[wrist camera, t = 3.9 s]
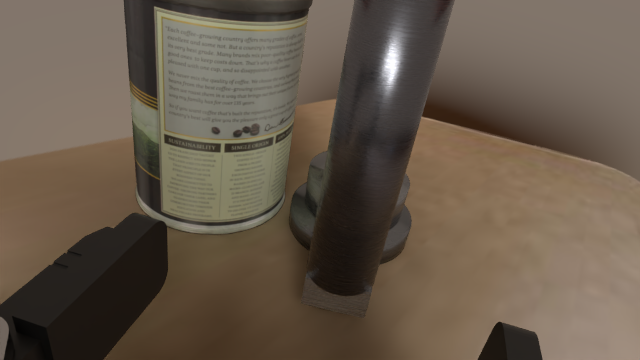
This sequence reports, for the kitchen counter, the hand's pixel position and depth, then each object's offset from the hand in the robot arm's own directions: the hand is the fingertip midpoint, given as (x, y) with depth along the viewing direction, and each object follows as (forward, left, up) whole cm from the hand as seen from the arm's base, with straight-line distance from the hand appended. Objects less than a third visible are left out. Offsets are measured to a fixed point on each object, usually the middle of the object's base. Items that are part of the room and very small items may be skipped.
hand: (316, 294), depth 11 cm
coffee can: (-11, +17, -10) cm, 23 cm away
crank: (-1, +16, -8) cm, 18 cm away
